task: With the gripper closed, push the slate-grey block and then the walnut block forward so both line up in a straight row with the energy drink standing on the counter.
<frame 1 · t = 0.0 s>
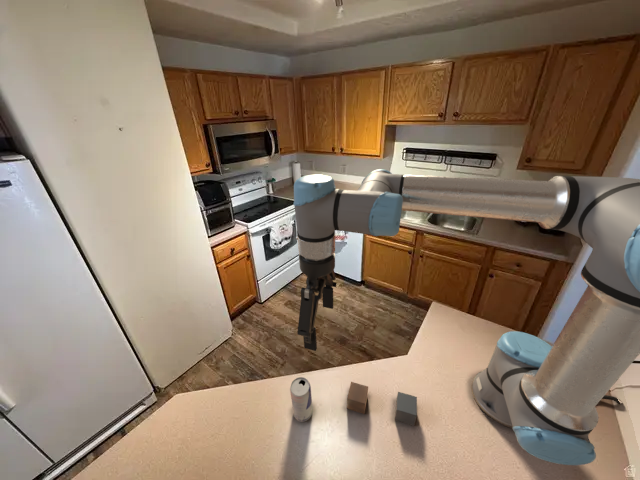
hand: (320, 325, 63), 28 cm above the counter, tool pointing down, fingers open, 13 cm apart
walnut block: (357, 402, 74), on the counter
grey block: (404, 413, 71), on the counter
energy drink: (303, 412, 72), on the counter
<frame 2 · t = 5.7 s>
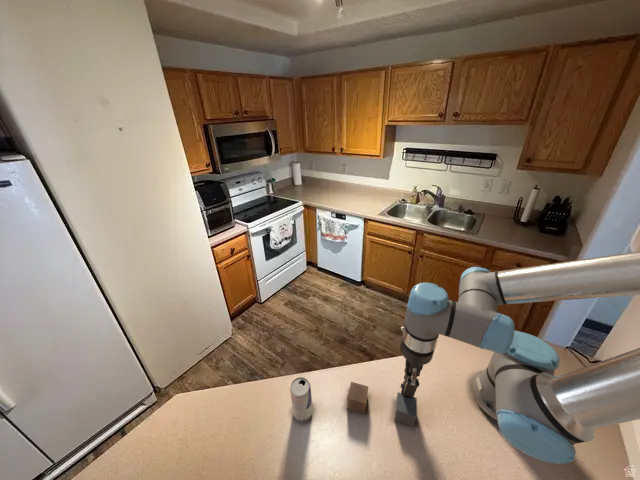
hand: (405, 398, 73), 2 cm above the counter, tool pointing down, fingers closed
grey block: (404, 414, 71), on the counter, touching gripper
everything else where it was.
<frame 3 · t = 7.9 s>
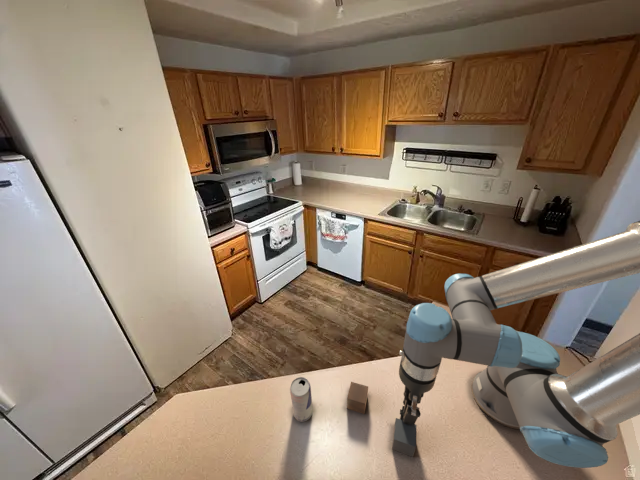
hand: (405, 424, 67), 2 cm above the counter, tool pointing down, fingers closed
grey block: (402, 442, 65), on the counter
everything else where it was.
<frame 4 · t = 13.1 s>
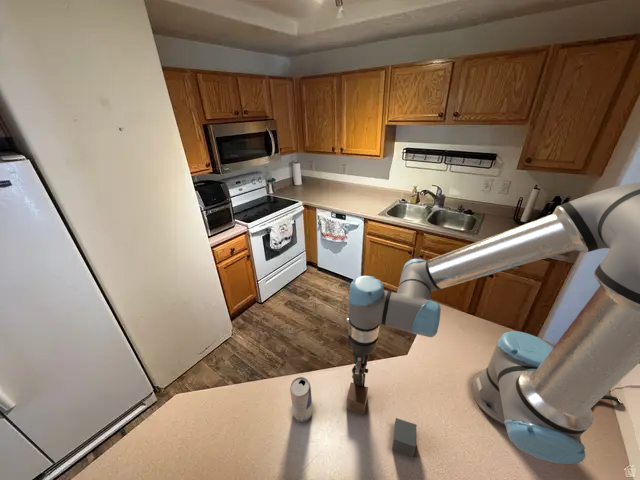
hand: (359, 388, 76), 2 cm above the counter, tool pointing down, fingers closed
walnut block: (357, 403, 74), on the counter, touching gripper
everything else where it was.
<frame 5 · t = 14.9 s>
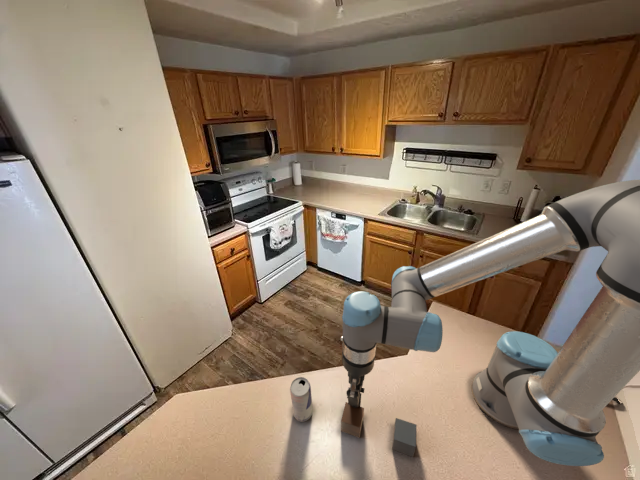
hand: (354, 408, 71), 2 cm above the counter, tool pointing down, fingers closed
walnut block: (352, 424, 69), on the counter, touching gripper
everything else where it was.
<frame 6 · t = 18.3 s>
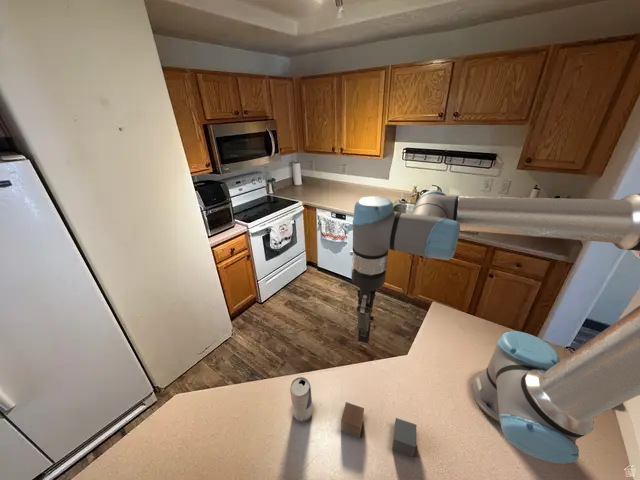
hand: (363, 339, 68), 20 cm above the counter, tool pointing down, fingers closed
walnut block: (352, 424, 69), on the counter
everything else where it was.
at the end: grey block 0.9 cm from the target spot, on the counter; walnut block 0.9 cm from the target spot, on the counter; energy drink tilted 0° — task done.
